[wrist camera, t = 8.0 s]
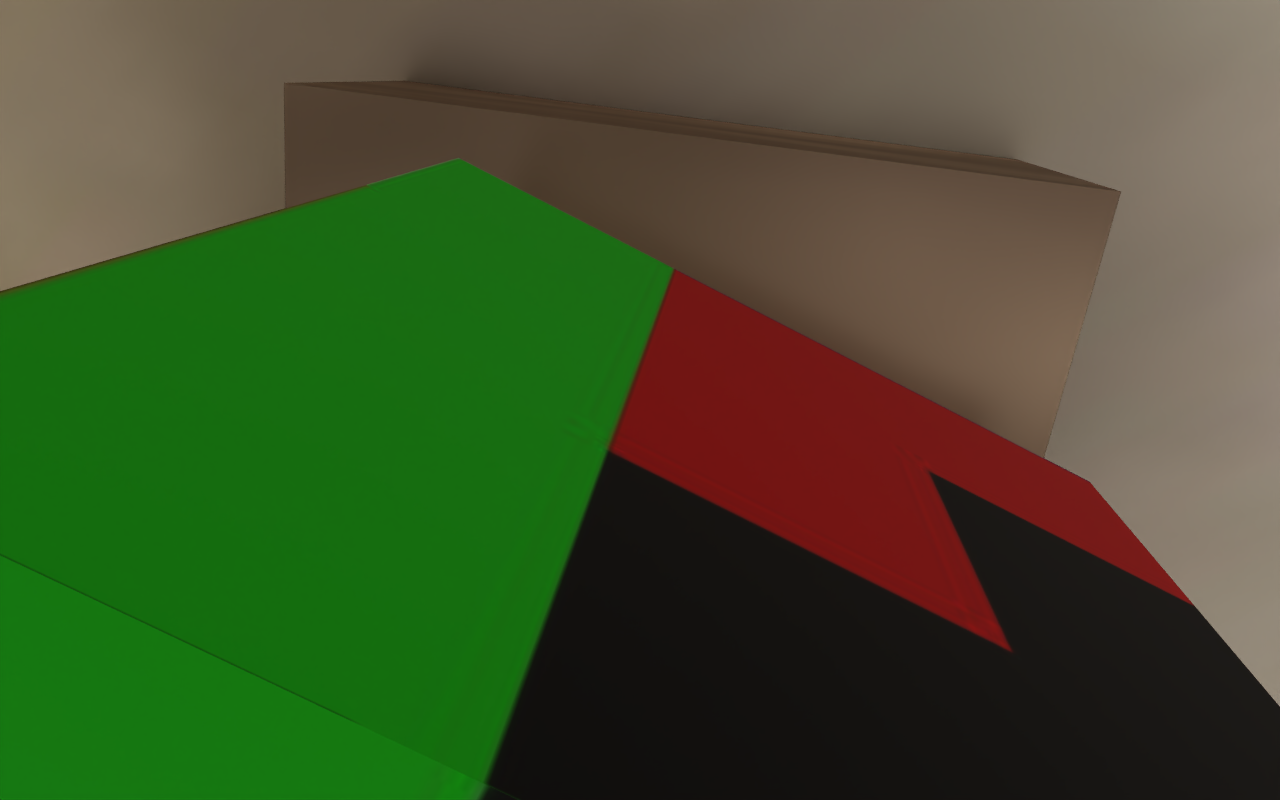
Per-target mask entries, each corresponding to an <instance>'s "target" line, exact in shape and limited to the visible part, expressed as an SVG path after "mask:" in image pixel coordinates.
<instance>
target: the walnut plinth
mask: <svg viewBox="0 0 1280 800" xmlns="http://www.w3.org/2000/svg"><path fill="white" fill-rule="evenodd" d="M284 123H285V203H286V208H289V207H292V206H295V205H299V204H302V203H306V202H309V201H313V200H316V199H319V198H323V197H326V196H330V195H333V194H337V193H340V192H344V191H347V190H350V189H354V188H357V187H361V186H364V185H368V184H371V183H374V182H378V181H381V180H385V179H388V178H392V177H395V176H398V175H402V174H405V173H409V172H412V171H416V170H419V169H423V168H426V167H429V166H433V165H436V164H440V163H443V162H447V161H450V160H453V159H457V158H460V159H462V160H464V161H466V162H468V163H470V164H472V165H473V166H475V167H477V168H479V169H481V170H483V171H485V172H487V173H489V174H491V175H493V176H495V177H497V178H499V179H501V180H503V181H505V182H507V183H509V184H511V185H512V186H514V187H516V188H518V189H520V190H522V191H524V192H526V193H528V194H530V195H532V196H534V197H536V198H538V199H540V200H542V201H544V202H546V203H548V204H549V205H551V206H553V207H555V208H557V209H559V210H561V211H563V212H565V213H567V214H569V215H571V216H573V217H575V218H577V219H579V220H581V221H583V222H585V223H586V224H588V225H590V226H592V227H594V228H596V229H598V230H600V231H602V232H604V233H606V234H608V235H610V236H612V237H614V238H616V239H618V240H620V241H622V242H623V243H625V244H627V245H629V246H631V247H633V248H635V249H637V250H639V251H641V252H643V253H645V254H647V255H649V256H651V257H653V258H655V259H657V260H659V261H660V262H662V263H664V264H666V265H668V266H670V267H672V268H674V269H676V270H678V271H680V272H682V273H684V274H686V275H688V276H690V277H692V278H694V279H696V280H697V281H699V282H701V283H703V284H705V285H707V286H709V287H711V288H713V289H715V290H717V291H719V292H721V293H723V294H725V295H727V296H729V297H731V298H733V299H734V300H736V301H738V302H740V303H742V304H744V305H746V306H748V307H750V308H752V309H754V310H756V311H758V312H760V313H762V314H764V315H766V316H768V317H770V318H771V319H773V320H775V321H777V322H779V323H781V324H783V325H785V326H787V327H789V328H791V329H793V330H795V331H797V332H799V333H801V334H803V335H805V336H807V337H808V338H810V339H812V340H814V341H816V342H818V343H820V344H822V345H824V346H826V347H828V348H830V349H832V350H834V351H836V352H838V353H840V354H842V355H844V356H845V357H847V358H849V359H851V360H853V361H855V362H857V363H859V364H861V365H863V366H865V367H867V368H869V369H871V370H873V371H875V372H877V373H879V374H881V375H883V376H884V377H886V378H888V379H890V380H892V381H894V382H896V383H898V384H900V385H902V386H904V387H906V388H908V389H910V390H912V391H914V392H916V393H918V394H920V395H921V396H923V397H925V398H927V399H929V400H931V401H933V402H935V403H937V404H939V405H941V406H943V407H945V408H947V409H949V410H951V411H953V412H955V413H957V414H958V415H960V416H962V417H964V418H966V419H968V420H970V421H972V422H974V423H976V424H978V425H980V426H982V427H984V428H986V429H988V430H990V431H992V432H994V433H995V434H997V435H999V436H1001V437H1003V438H1005V439H1007V440H1009V441H1011V442H1013V443H1015V444H1017V445H1019V446H1021V447H1023V448H1025V449H1027V450H1029V451H1031V452H1032V453H1034V454H1036V455H1038V456H1040V457H1042V458H1044V455H1045V452H1046V449H1047V445H1048V442H1049V438H1050V435H1051V431H1052V428H1053V424H1054V421H1055V418H1056V414H1057V411H1058V407H1059V404H1060V400H1061V397H1062V393H1063V390H1064V387H1065V383H1066V380H1067V376H1068V373H1069V369H1070V366H1071V362H1072V359H1073V356H1074V352H1075V349H1076V345H1077V342H1078V338H1079V335H1080V331H1081V328H1082V325H1083V321H1084V318H1085V314H1086V311H1087V307H1088V304H1089V300H1090V297H1091V294H1092V290H1093V287H1094V283H1095V280H1096V276H1097V273H1098V269H1099V266H1100V263H1101V259H1102V256H1103V252H1104V249H1105V245H1106V242H1107V238H1108V235H1109V232H1110V228H1111V225H1112V221H1113V218H1114V214H1115V211H1116V208H1117V204H1118V201H1119V197H1120V194H1121V191H1117V190H1114V189H1111V188H1108V187H1104V186H1101V185H1098V184H1095V183H1091V182H1088V181H1085V180H1082V179H1078V178H1075V177H1072V176H1069V175H1065V174H1062V173H1059V172H1056V171H1052V170H1049V169H1046V168H1043V167H1039V166H1036V165H1033V164H1030V163H1026V162H1023V161H1020V160H1015V159H1008V158H1000V157H992V156H984V155H976V154H969V153H961V152H953V151H945V150H938V149H930V148H922V147H914V146H907V145H899V144H891V143H883V142H875V141H868V140H860V139H852V138H844V137H837V136H829V135H821V134H813V133H805V132H798V131H790V130H782V129H774V128H767V127H759V126H751V125H743V124H736V123H728V122H720V121H712V120H704V119H697V118H689V117H681V116H673V115H666V114H658V113H650V112H642V111H634V110H627V109H619V108H611V107H603V106H596V105H588V104H580V103H572V102H565V101H557V100H549V99H541V98H533V97H526V96H518V95H510V94H502V93H495V92H487V91H479V90H471V89H463V88H456V87H448V86H440V85H432V84H425V83H417V82H409V81H371V82H313V83H284Z"/></svg>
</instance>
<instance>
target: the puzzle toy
mask: <svg viewBox="0 0 1280 800" xmlns="http://www.w3.org/2000/svg"><path fill="white" fill-rule="evenodd" d="M0 800H1280V706H1279V705H1278V704H1277V703H1276V702H1275V701H1274V699H1273V698H1272V697H1271V696H1270V695H1269V693H1268V692H1267V691H1266V690H1265V689H1264V688H1263V686H1262V685H1261V684H1260V683H1259V682H1258V680H1257V679H1256V678H1255V677H1254V676H1253V674H1252V673H1251V672H1250V671H1249V670H1248V669H1247V667H1246V666H1245V665H1244V664H1243V663H1242V661H1241V660H1240V659H1239V658H1238V657H1237V656H1236V654H1235V653H1234V652H1233V651H1232V650H1231V648H1230V647H1229V646H1228V645H1227V644H1226V643H1225V641H1224V640H1223V639H1222V638H1221V637H1220V635H1219V634H1218V633H1217V632H1216V631H1215V630H1214V628H1213V627H1212V626H1211V625H1210V624H1209V622H1208V621H1207V620H1206V619H1205V618H1204V617H1203V615H1202V614H1201V613H1200V612H1199V611H1198V609H1197V608H1196V607H1195V606H1194V605H1193V604H1192V602H1191V601H1190V600H1189V599H1188V598H1187V596H1186V595H1185V594H1184V593H1183V592H1182V591H1181V589H1180V588H1179V587H1178V586H1177V585H1176V583H1175V582H1174V581H1173V580H1172V579H1171V578H1170V576H1169V575H1168V574H1167V573H1166V572H1165V570H1164V569H1163V568H1162V567H1161V566H1160V565H1159V563H1158V562H1157V561H1156V560H1155V559H1154V557H1153V556H1152V555H1151V554H1150V553H1149V552H1148V550H1147V549H1146V548H1145V547H1144V546H1143V544H1142V543H1141V542H1140V541H1139V540H1138V539H1137V537H1136V536H1135V535H1134V534H1133V533H1132V531H1131V530H1130V529H1129V528H1128V527H1127V526H1126V524H1125V523H1124V522H1123V521H1122V520H1121V518H1120V517H1119V516H1118V515H1117V514H1116V513H1115V511H1114V510H1113V509H1112V508H1111V507H1110V505H1109V504H1108V503H1107V502H1106V501H1105V500H1104V498H1103V497H1102V496H1101V495H1100V494H1099V492H1098V491H1097V490H1096V489H1095V488H1094V486H1093V485H1092V484H1091V483H1090V482H1089V481H1087V480H1085V479H1083V478H1081V477H1079V476H1077V475H1075V474H1073V473H1071V472H1069V471H1068V470H1066V469H1064V468H1062V467H1060V466H1058V465H1056V464H1054V463H1052V462H1050V461H1048V460H1046V459H1044V458H1042V457H1040V456H1038V455H1036V454H1034V453H1032V452H1031V451H1029V450H1027V449H1025V448H1023V447H1021V446H1019V445H1017V444H1015V443H1013V442H1011V441H1009V440H1007V439H1005V438H1003V437H1001V436H999V435H997V434H995V433H994V432H992V431H990V430H988V429H986V428H984V427H982V426H980V425H978V424H976V423H974V422H972V421H970V420H968V419H966V418H964V417H962V416H960V415H958V414H957V413H955V412H953V411H951V410H949V409H947V408H945V407H943V406H941V405H939V404H937V403H935V402H933V401H931V400H929V399H927V398H925V397H923V396H921V395H920V394H918V393H916V392H914V391H912V390H910V389H908V388H906V387H904V386H902V385H900V384H898V383H896V382H894V381H892V380H890V379H888V378H886V377H884V376H883V375H881V374H879V373H877V372H875V371H873V370H871V369H869V368H867V367H865V366H863V365H861V364H859V363H857V362H855V361H853V360H851V359H849V358H847V357H845V356H844V355H842V354H840V353H838V352H836V351H834V350H832V349H830V348H828V347H826V346H824V345H822V344H820V343H818V342H816V341H814V340H812V339H810V338H808V337H807V336H805V335H803V334H801V333H799V332H797V331H795V330H793V329H791V328H789V327H787V326H785V325H783V324H781V323H779V322H777V321H775V320H773V319H771V318H770V317H768V316H766V315H764V314H762V313H760V312H758V311H756V310H754V309H752V308H750V307H748V306H746V305H744V304H742V303H740V302H738V301H736V300H734V299H733V298H731V297H729V296H727V295H725V294H723V293H721V292H719V291H717V290H715V289H713V288H711V287H709V286H707V285H705V284H703V283H701V282H699V281H697V280H696V279H694V278H692V277H690V276H688V275H686V274H684V273H682V272H680V271H678V270H676V269H674V268H672V267H670V266H668V265H666V264H664V263H662V262H660V261H659V260H657V259H655V258H653V257H651V256H649V255H647V254H645V253H643V252H641V251H639V250H637V249H635V248H633V247H631V246H629V245H627V244H625V243H623V242H622V241H620V240H618V239H616V238H614V237H612V236H610V235H608V234H606V233H604V232H602V231H600V230H598V229H596V228H594V227H592V226H590V225H588V224H586V223H585V222H583V221H581V220H579V219H577V218H575V217H573V216H571V215H569V214H567V213H565V212H563V211H561V210H559V209H557V208H555V207H553V206H551V205H549V204H548V203H546V202H544V201H542V200H540V199H538V198H536V197H534V196H532V195H530V194H528V193H526V192H524V191H522V190H520V189H518V188H516V187H514V186H512V185H511V184H509V183H507V182H505V181H503V180H501V179H499V178H497V177H495V176H493V175H491V174H489V173H487V172H485V171H483V170H481V169H479V168H477V167H475V166H473V165H472V164H470V163H468V162H466V161H464V160H462V159H460V158H457V159H453V160H450V161H447V162H443V163H440V164H436V165H433V166H429V167H426V168H423V169H419V170H416V171H412V172H409V173H405V174H402V175H398V176H395V177H392V178H388V179H385V180H381V181H378V182H374V183H371V184H368V185H364V186H361V187H357V188H354V189H350V190H347V191H344V192H340V193H337V194H333V195H330V196H326V197H323V198H319V199H316V200H313V201H309V202H306V203H302V204H299V205H295V206H292V207H289V208H285V209H282V210H278V211H275V212H271V213H268V214H264V215H261V216H258V217H254V218H251V219H247V220H244V221H240V222H237V223H234V224H230V225H227V226H223V227H220V228H216V229H213V230H209V231H206V232H203V233H199V234H196V235H192V236H189V237H185V238H182V239H179V240H175V241H172V242H168V243H165V244H161V245H158V246H154V247H151V248H148V249H144V250H141V251H137V252H134V253H130V254H127V255H124V256H120V257H117V258H113V259H110V260H106V261H103V262H99V263H96V264H93V265H89V266H86V267H82V268H79V269H75V270H72V271H69V272H65V273H62V274H58V275H55V276H51V277H48V278H44V279H41V280H38V281H34V282H31V283H27V284H24V285H20V286H17V287H14V288H10V289H7V290H3V291H0Z"/></svg>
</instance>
